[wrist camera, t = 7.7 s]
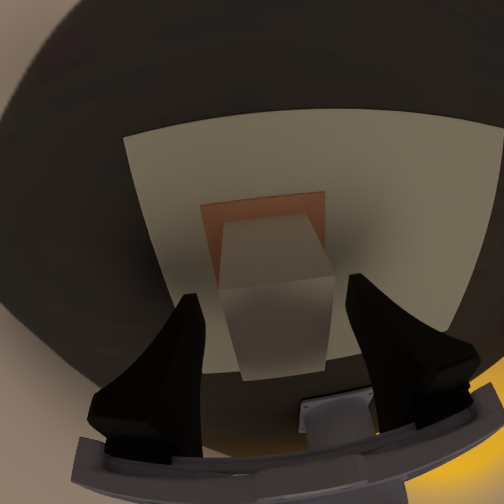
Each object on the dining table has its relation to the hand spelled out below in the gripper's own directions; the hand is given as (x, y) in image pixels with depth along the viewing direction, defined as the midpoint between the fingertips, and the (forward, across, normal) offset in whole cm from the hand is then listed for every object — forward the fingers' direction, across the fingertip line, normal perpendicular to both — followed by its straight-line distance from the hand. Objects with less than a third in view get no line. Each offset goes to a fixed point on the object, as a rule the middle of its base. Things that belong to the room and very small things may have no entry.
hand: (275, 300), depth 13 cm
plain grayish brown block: (+3, 0, 0) cm, 3 cm away
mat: (+3, -5, +1) cm, 6 cm away
